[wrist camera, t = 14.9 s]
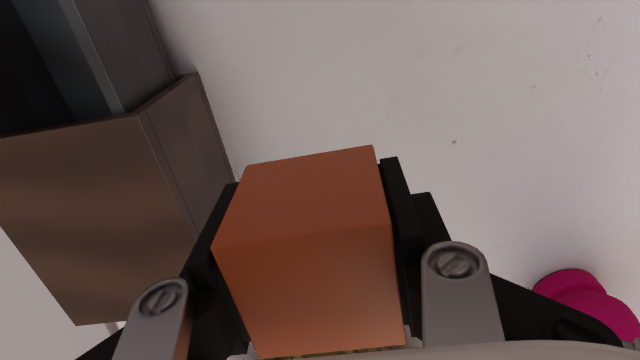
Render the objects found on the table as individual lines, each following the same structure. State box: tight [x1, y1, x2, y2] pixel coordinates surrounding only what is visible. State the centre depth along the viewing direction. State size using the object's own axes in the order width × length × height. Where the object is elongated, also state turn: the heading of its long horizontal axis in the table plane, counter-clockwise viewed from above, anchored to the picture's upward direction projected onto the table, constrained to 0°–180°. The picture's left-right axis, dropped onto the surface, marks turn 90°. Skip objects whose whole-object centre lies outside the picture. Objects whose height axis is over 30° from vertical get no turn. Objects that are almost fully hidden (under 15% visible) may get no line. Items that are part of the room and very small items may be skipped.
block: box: [211, 145, 406, 359], centre depth 10 cm, size 4×4×4 cm
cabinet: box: [0, 72, 235, 326], centre depth 27 cm, size 15×12×10 cm
